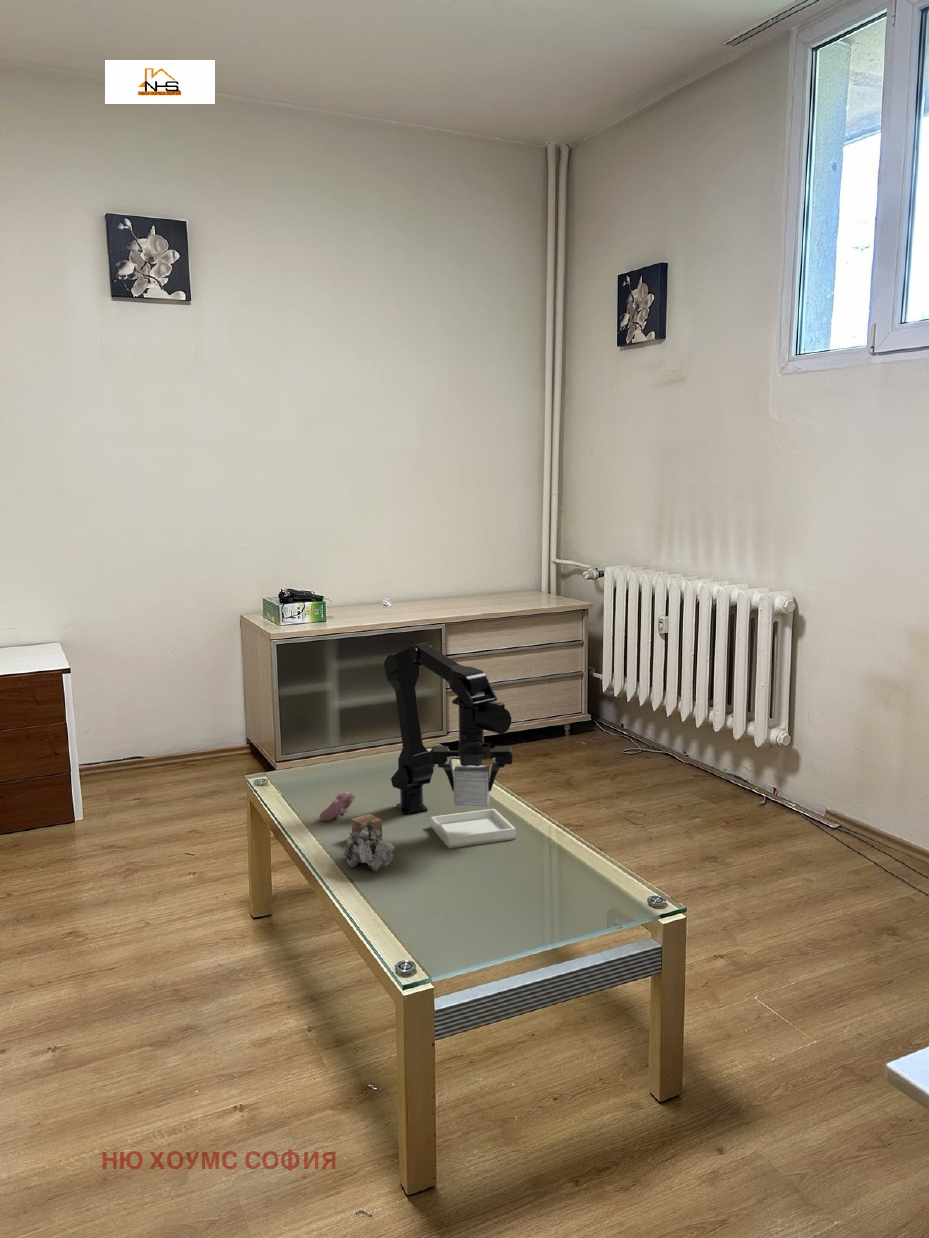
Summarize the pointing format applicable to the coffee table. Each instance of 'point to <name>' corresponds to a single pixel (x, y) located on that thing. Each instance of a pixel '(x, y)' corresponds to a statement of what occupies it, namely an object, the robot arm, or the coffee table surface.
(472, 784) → the medicine box
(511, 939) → the coffee table surface
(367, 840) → the mineral specimen
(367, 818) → the walnut block
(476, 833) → the tray
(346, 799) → the pink crystal rock
